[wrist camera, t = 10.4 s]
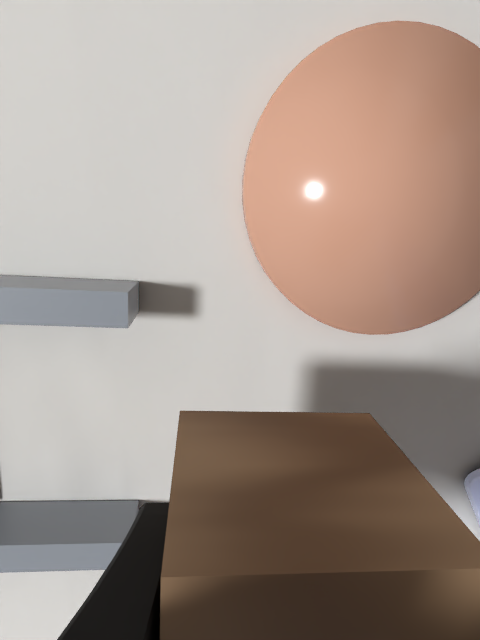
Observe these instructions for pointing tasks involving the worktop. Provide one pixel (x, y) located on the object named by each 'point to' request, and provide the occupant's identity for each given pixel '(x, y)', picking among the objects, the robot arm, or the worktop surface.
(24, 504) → the grey shallow rectangular tray
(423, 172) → the peach dome
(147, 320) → the worktop surface
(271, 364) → the worktop surface
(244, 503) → the block
